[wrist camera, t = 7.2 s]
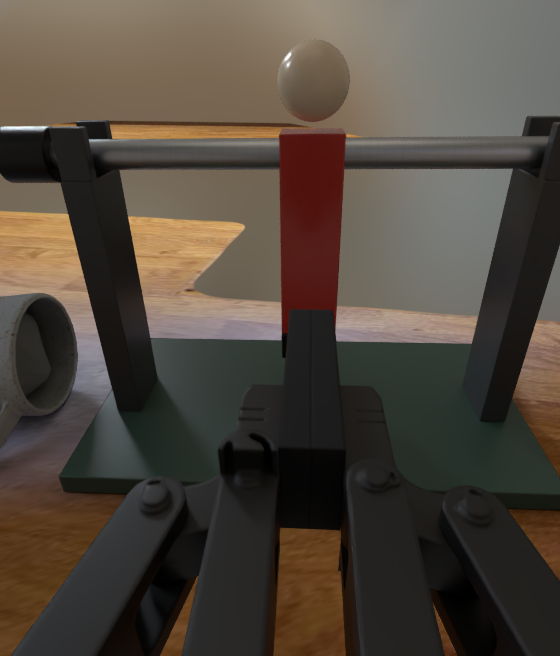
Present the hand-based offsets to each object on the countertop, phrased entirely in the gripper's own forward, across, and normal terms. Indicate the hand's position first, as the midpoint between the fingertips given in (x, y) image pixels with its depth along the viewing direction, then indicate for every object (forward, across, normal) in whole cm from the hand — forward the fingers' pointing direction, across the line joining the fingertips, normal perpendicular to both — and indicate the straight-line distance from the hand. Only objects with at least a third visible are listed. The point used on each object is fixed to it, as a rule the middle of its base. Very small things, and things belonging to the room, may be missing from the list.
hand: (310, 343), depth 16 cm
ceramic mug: (+8, -20, -11) cm, 24 cm away
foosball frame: (+9, 0, -11) cm, 14 cm away
